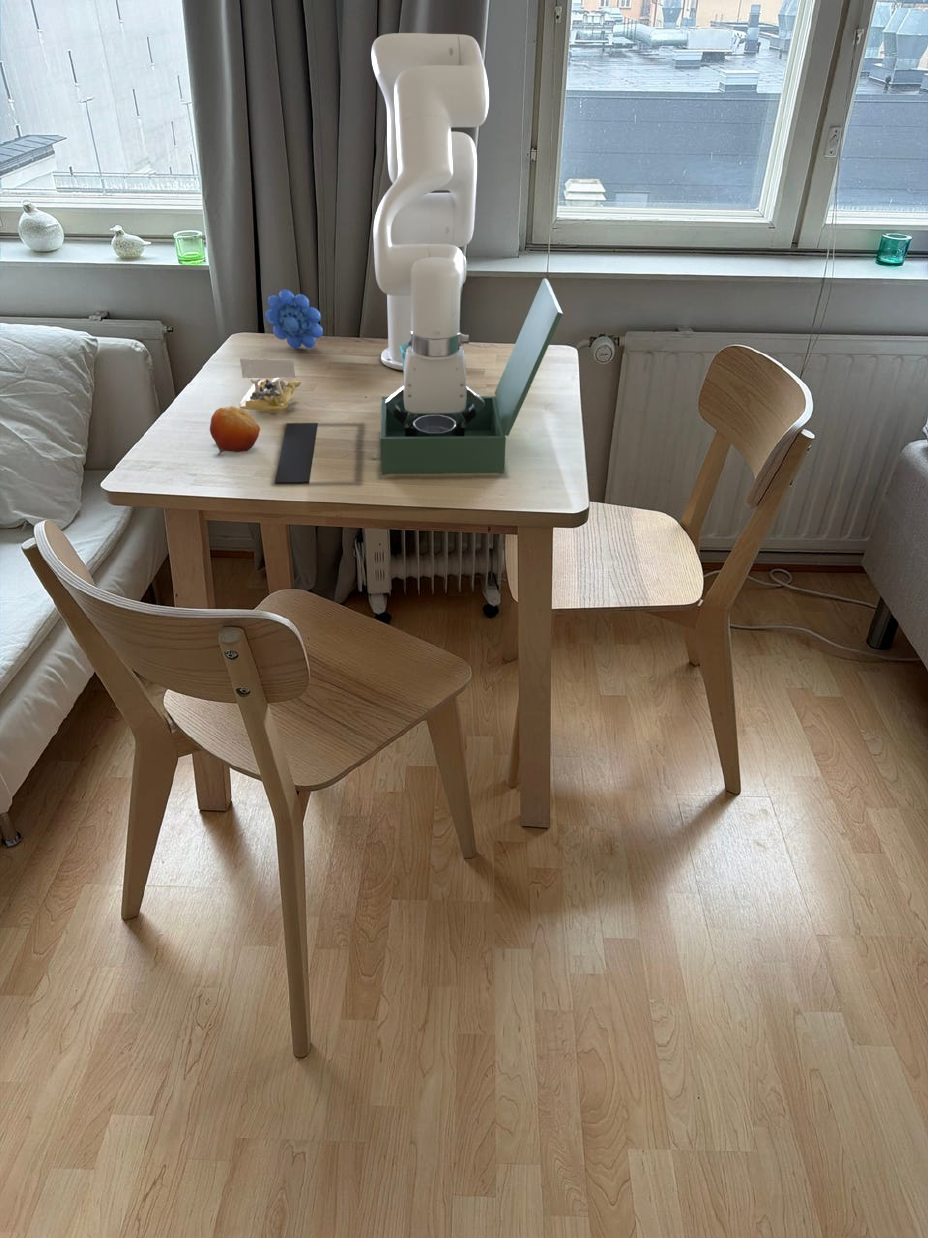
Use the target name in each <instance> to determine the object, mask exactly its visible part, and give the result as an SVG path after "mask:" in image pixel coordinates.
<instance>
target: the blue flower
mask: <svg viewBox="0 0 928 1238" xmlns="http://www.w3.org/2000/svg"><path fill="white" fill-rule="evenodd" d="M278 295H279V296H277V295H274V294H272V295H271V296H269V297H268V299H267V304H268V307H269V309H268V310H266V312H265V320H266V321H267V322H268V323H269V324H271V325H273V327H272V332H273V336H275V337H276V338H277V339H279V340H282V341H283V340H285V339H286V341H287V344H288V345H289V347H290V348H292V349H299V348H301V347H302V345H303V346H304V347H306V348H307V349H312V348H313V347H315V346H316V339H318V338H321V337H322V336H323V335H324V331H323V327H322V325H320V324H319V322H320V321H321V320H322V317H321V312H320V311H319V310H318V309H317V308H316V307H314V306H313V307H312V306H310V300H309V298H308V297H307V296H306V295H304V294H302V293H298V294H296V295H294V293H293V292H292V291H291V290H289V289H281V290H280V292H279V293H278Z"/></svg>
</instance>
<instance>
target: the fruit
mask: <svg viewBox="0 0 928 1238" xmlns="http://www.w3.org/2000/svg"><path fill="white" fill-rule="evenodd" d="M260 431H261V427H260V425H259V424H258V422H257V421H256V419H255V418H254V416H253V415H252V414H251V413H249V412H248V411H246V410H245V409H241V408H240V407H239V408H238V407H236V406H229V407H226V406H225V407H219V408H217V409H216V410H215V411H214V413H213V414H212V416H211V418H210V424H209V433H210V436H211V438H212V439H213V442H214V443H215V445H216V447H217V449H218V451H219V452H218V453H217V456H220V455H221V454H222V453H224V452H231V453H244V452H248V451H250V450H251V449H252V448H253V447H254V446H255V444H256V442H257V440H258V439H259V436H260Z"/></svg>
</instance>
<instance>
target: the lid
mask: <svg viewBox="0 0 928 1238" xmlns="http://www.w3.org/2000/svg"><path fill="white" fill-rule="evenodd" d="M563 315H564V313H563V311H562V309H561V307H560V304H559V302H558V300H557V298H556V295H555V293H554V291H553V288H552V286H551V283H550V281H549V279H547V278H544V277H543V278H542V280H541V283H540V285H539V288H538V290H537V292H536V294H535V297H534V299H533V302H532V304H531V306H530V309H529V310H528V313H527V316H526V317H525V320H524V323H523V325H522V327H521V329H520V332H519V334H518V337H517V339H516V341H515V344H514V346H513V349H512V351H511V353H510V355H509V357H508V360H507V363H506V365H505V367H504V370H503V372H502V374H501V377H500V379H499V381H498V384H497V386H496V388H495V390H494V396H495V397H496V401H497V406H498V410H499V415H500V419H501V424H502V428H503V433H504V435H505V436H506V437H509V436H510V433H511V431H512V430H513V427H514V425H515V422H516V420H517V417H518V416H519V413H520V411H521V409H522V406H523V404H524V402H525V400H526V397H527V395H528V393H529V391H530V388H531V386H532V385H533V382H534V379H535V377H536V375H537V373H538V370H539V369H540V366H541V364H542V361H543V360H544V357H545V355H546V352H547V350H548V348H549V346H550V344H551V342H552V339H553V337H554V334H555V332H556V330H557V328H558V326H559V323H560V321H561V319H562V316H563Z"/></svg>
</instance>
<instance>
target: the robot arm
mask: <svg viewBox="0 0 928 1238" xmlns="http://www.w3.org/2000/svg"><path fill="white" fill-rule="evenodd" d="M371 64H372V69H373V72H374V75H375V78H376V81H377V83H378V85H379V88H380V90H381V93H382V96H383V98H384V103H385V107H386V131H387V133H386V134H387V137H386V138H387V139H386V141H387V142H386V143H387V169H388V175H389V176H388V177H389V180H390V182H391V183H392V185H390V187H389V189H388V190H386V192H385V193H384V195H383V197H382V199H381V200H380V203H379V205H378V207H377V209H376V212H375V215H374V216H375V217H374V220H373V221H374V222H373V234H372V235H373V236H372V238H373V257H374V272H375V273H374V274H375V279H376V283H377V286H378V288H379V289H380V291H381V292H382V293H384V294H385V295H386V300H387V301H386V302H387V341H388V344H387V346H388V347H387V348H385V349H384V350H383V351H381V353H380V360H381V361H380V362H382V363H383V365H385V366H386V367H388V368H391V369H394V370H399V371H403V362H402V355H401V353H400V348H399V347H400V346H402V345H404V344H406V343H408V342H410V340H411V346H410V347H408V348H407V350H406V355H405V362H404V372H403V379H402V386H401V387H400V388H399V389H397V390H396V391H394V392H393V393H392V394H391V395H389V396H388V397H389V398H387V399H386V400H385V406H386V407H387V408H388V410H389V411H390V412H391V413H392V414H393V415H394V417H395V418H396V419H398V420H399V421H400V422H401V423H402V424H403V426H404V427H405V437H414V426H413V421H414V419H415V417H416V415H417V414H454V416H455V418H456V420H457V422H456V436H465V427H466V426H467V424H468V423H469V422H470V421H471V420H472V419H473V418H474V417H475V416H476V414H477V413H478V412H479V411H480V410H481V409H482V408H483V407H484V405H485V402H484V399H482V398H481V397H480V395H479V394H477V393H476V392H475V391H474V390H472V389H471V388H470V387H469V386H468V384H467V367H466V357H465V352H464V348H463V347H462V345H468V344H469V342H470V337H469V334H464V333H462V332H461V331H460V328H461V327H460V320H461V289H462V287H463V284H465V283H466V280H467V273H468V266H467V259H466V258H467V257H466V256H465V255H464V253H463V251H462V250H461V249H460V248H462V247H465V246H467V245H468V244H470V242H471V241H472V239H473V235H474V231H475V221H476V220H475V219H476V198H477V197H476V196H477V181H478V180H477V179H478V156H477V149H476V145H475V142H474V140H473V138H472V137H471V136H470V135H469V134H468V133H465V132H462V131H452V128H478V127H481V126H482V125H483V124H484V123H485V122H486V120H487V117H488V114H489V113H488V112H489V107H490V106H489V105H490V91H489V82H488V76H487V71H486V67H485V62H484V60H483V56H482V51H481V48H480V45H479V43H478V42H477V40H476V39H475V38H474V36H471V35H468V34H462V33H461V34H458V33H426V32H425V33H422V32H396V33H395V32H393V33H386V34H382V35H380V36H378V37H377V38H376V39H374V41H373V43H372V45H371ZM435 191H449V192H435ZM403 398H404V407H405V410H406V412H404V411H403V410H402V409H400V408H399V407H398V406H397V405H396V404H397V403H398V402H399V401H400V400H402V399H403ZM467 398H468V399H469V400H470V401H471V402H473V403H474V404H473V405H472V406H471V407H470V408H469V409H467V410H466V411H465V412H463V411H464V410H465V409H466V402H467Z"/></svg>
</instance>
